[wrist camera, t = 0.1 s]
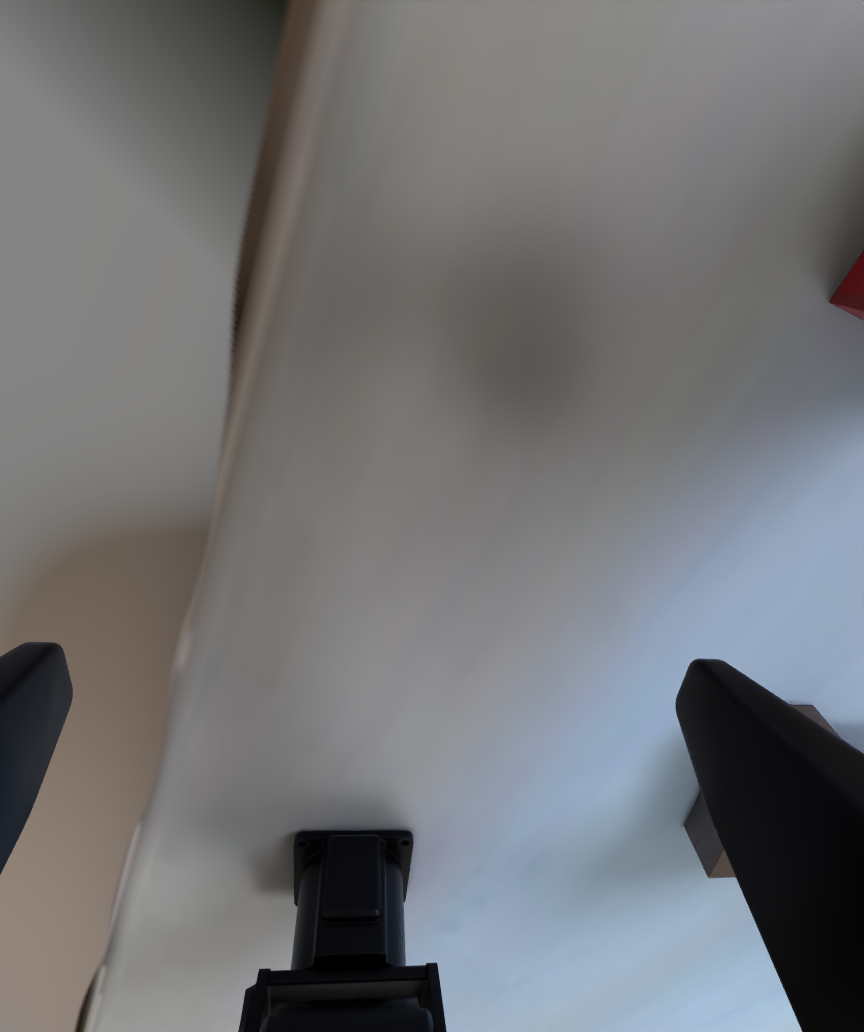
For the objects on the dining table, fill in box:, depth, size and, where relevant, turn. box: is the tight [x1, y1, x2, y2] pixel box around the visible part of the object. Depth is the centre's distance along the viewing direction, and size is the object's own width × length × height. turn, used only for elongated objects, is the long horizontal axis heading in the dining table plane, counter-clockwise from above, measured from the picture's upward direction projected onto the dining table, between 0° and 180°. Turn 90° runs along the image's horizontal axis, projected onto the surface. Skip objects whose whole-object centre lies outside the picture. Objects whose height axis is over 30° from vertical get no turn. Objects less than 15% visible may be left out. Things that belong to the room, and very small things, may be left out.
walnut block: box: [685, 705, 840, 878], centre depth 32 cm, size 10×4×3 cm, turn 174°
